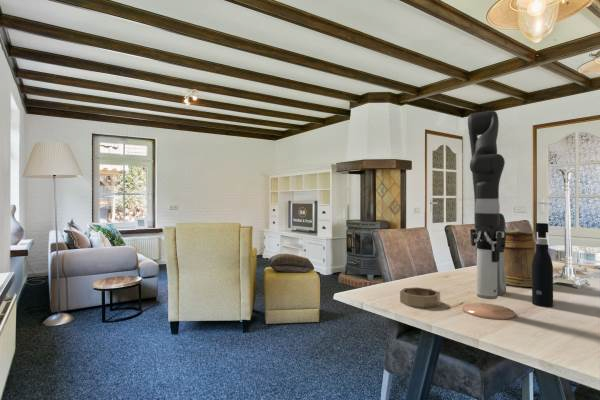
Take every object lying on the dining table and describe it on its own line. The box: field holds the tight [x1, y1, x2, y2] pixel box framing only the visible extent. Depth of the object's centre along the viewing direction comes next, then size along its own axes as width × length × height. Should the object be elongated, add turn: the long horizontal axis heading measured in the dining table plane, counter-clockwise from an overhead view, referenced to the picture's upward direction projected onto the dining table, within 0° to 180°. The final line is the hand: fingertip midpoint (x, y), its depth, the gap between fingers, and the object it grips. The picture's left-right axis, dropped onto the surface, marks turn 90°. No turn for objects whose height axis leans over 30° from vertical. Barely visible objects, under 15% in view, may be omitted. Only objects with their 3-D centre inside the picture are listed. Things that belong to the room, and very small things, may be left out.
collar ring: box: [399, 287, 441, 309], centre depth 134 cm, size 13×13×4 cm
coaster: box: [461, 302, 516, 321], centre depth 122 cm, size 16×16×1 cm
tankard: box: [504, 227, 536, 288], centre depth 167 cm, size 18×24×25 cm
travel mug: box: [476, 241, 498, 300], centre depth 122 cm, size 6×7×20 cm
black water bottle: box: [531, 222, 554, 308], centre depth 131 cm, size 6×6×30 cm
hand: (487, 260), depth 122 cm, fingers closed on travel mug, 6 cm apart
